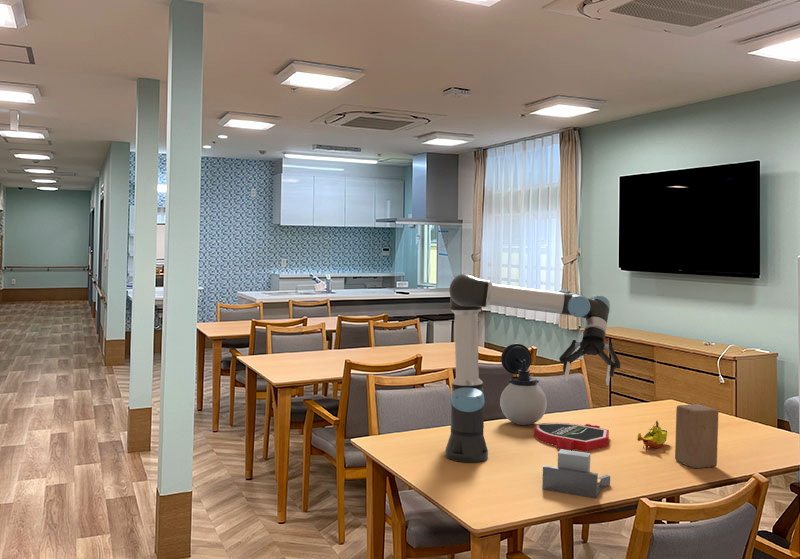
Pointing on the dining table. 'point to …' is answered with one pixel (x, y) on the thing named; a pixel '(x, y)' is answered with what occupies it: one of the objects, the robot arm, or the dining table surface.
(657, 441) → the toy submarine
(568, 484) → the rack
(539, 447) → the dining table surface
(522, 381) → the light fixture
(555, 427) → the emblem
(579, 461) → the panel
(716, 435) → the wooden block
